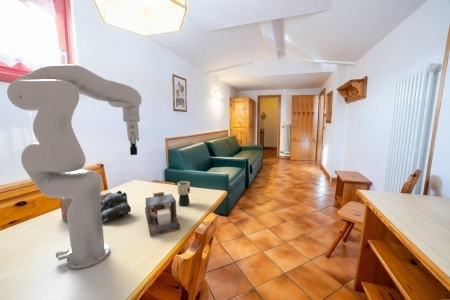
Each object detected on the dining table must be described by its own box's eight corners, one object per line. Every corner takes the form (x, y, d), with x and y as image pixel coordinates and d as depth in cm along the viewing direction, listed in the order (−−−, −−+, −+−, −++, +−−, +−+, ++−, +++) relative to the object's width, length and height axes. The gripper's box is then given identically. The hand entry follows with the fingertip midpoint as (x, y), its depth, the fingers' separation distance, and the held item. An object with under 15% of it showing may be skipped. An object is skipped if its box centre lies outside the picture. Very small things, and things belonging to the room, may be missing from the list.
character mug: (190, 207, 110) (189, 185, 108) (177, 208, 109) (176, 186, 107) (190, 200, 121) (189, 179, 119) (178, 201, 120) (177, 180, 118)
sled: (155, 231, 81) (154, 210, 79) (150, 211, 99) (149, 193, 98) (176, 226, 84) (175, 206, 83) (167, 208, 103) (167, 191, 101)
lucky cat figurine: (94, 225, 91) (88, 196, 94) (107, 223, 102) (102, 197, 105) (127, 214, 93) (120, 186, 96) (136, 212, 105) (130, 188, 108)
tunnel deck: (150, 236, 82) (148, 212, 80) (145, 211, 105) (144, 192, 104) (180, 229, 87) (179, 206, 86) (169, 207, 111) (168, 188, 109)
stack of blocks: (108, 205, 114) (107, 184, 112) (113, 208, 110) (111, 187, 108) (61, 219, 98) (59, 195, 96) (64, 223, 94) (62, 198, 92)
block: (159, 228, 84) (158, 215, 83) (157, 223, 88) (156, 210, 87) (171, 225, 86) (170, 212, 85) (168, 220, 90) (168, 208, 90)
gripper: (140, 118, 93) (142, 156, 96) (138, 119, 107) (140, 152, 109) (122, 118, 90) (125, 157, 93) (123, 119, 103) (125, 153, 106)
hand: (133, 154), depth 101 cm, fingers closed
